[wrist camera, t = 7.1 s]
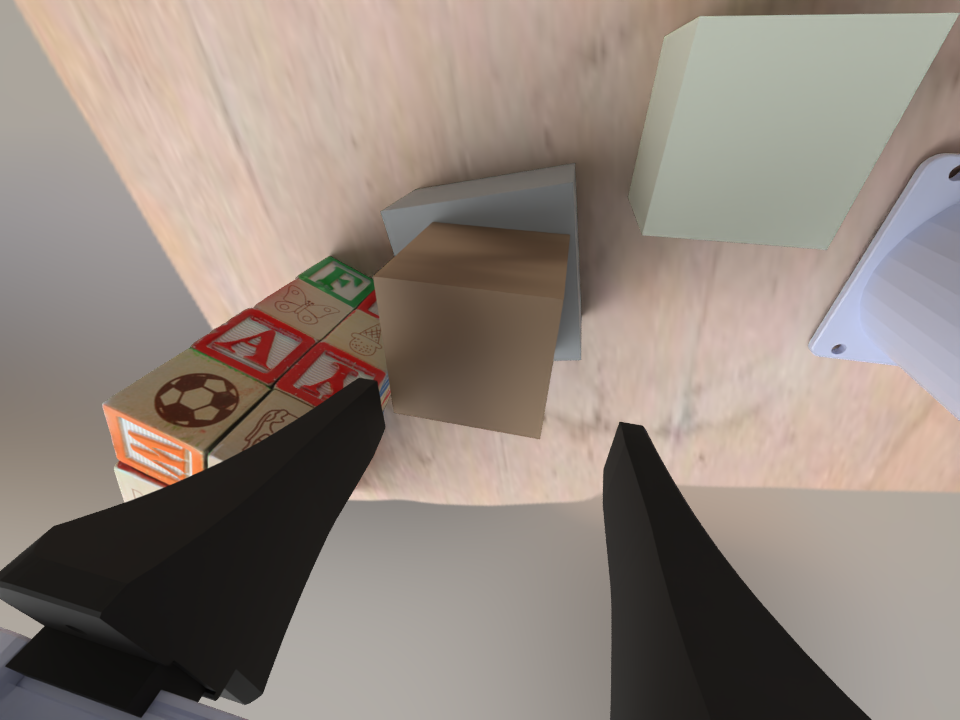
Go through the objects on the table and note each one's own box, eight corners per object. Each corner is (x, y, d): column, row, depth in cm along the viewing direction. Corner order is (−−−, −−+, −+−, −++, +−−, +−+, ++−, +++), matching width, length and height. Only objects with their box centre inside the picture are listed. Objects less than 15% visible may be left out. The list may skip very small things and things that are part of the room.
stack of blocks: (350, 490, 34) (255, 656, 24) (284, 459, 33) (159, 617, 23) (433, 306, 21) (301, 504, 11) (328, 250, 20) (88, 406, 10)
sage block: (834, 35, 12) (959, 12, 8) (762, 205, 15) (826, 249, 11) (663, 36, 13) (699, 15, 9) (627, 196, 16) (642, 235, 12)
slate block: (575, 161, 15) (573, 182, 12) (581, 314, 19) (580, 360, 16) (417, 188, 17) (380, 211, 14) (451, 322, 21) (428, 364, 18)
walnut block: (570, 234, 13) (563, 299, 9) (550, 352, 16) (540, 439, 12) (432, 222, 14) (372, 276, 10) (438, 336, 17) (393, 412, 13)
